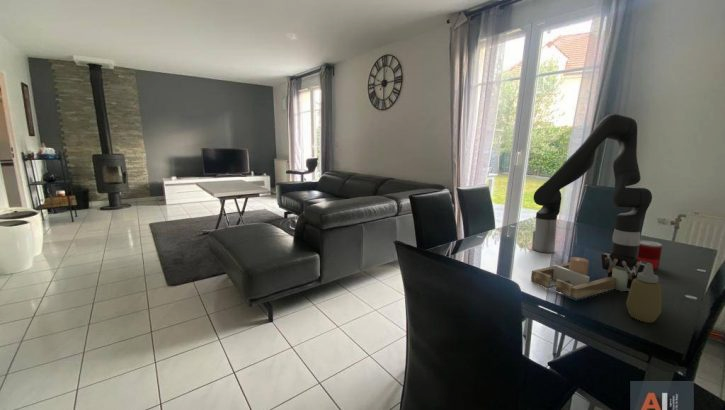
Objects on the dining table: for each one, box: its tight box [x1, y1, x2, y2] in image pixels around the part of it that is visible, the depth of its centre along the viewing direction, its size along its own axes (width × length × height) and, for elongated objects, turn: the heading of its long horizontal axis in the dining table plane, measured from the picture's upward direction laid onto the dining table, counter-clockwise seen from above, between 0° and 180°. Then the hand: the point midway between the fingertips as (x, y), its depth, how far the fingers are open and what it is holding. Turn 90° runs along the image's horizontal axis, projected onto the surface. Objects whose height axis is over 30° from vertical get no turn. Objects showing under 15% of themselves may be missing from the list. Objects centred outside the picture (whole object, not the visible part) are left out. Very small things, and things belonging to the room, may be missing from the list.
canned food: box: [634, 239, 663, 271], centre depth 130 cm, size 8×8×11 cm
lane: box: [530, 261, 616, 299], centre depth 116 cm, size 18×21×5 cm
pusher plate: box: [544, 264, 591, 290], centre depth 114 cm, size 13×13×6 cm
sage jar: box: [612, 265, 631, 292], centre depth 112 cm, size 6×6×9 cm
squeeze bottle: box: [625, 263, 663, 323], centre depth 92 cm, size 8×8×18 cm
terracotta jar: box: [569, 256, 590, 276], centre depth 117 cm, size 6×6×10 cm
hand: (620, 284), depth 112 cm, fingers closed on sage jar, 5 cm apart
